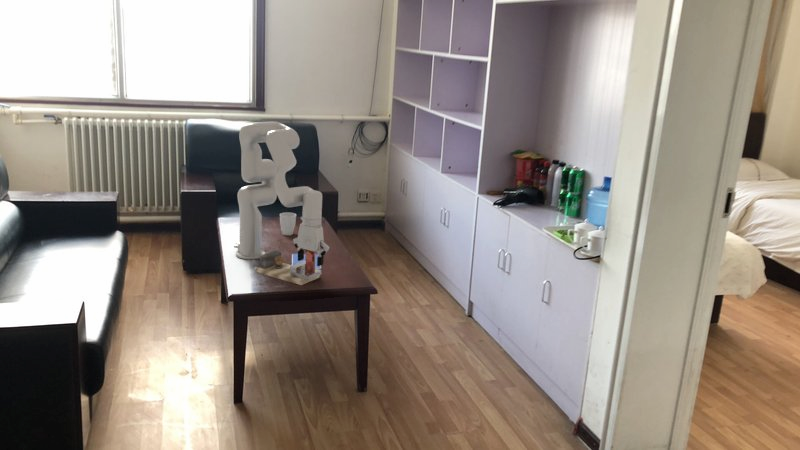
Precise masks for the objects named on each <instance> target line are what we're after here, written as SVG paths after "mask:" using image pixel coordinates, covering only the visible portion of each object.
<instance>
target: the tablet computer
mask: <svg viewBox="0 0 800 450" xmlns="http://www.w3.org/2000/svg"><path fill="white" fill-rule="evenodd" d="M305 256H306V253H304V259H303V260H301V261H298V253H292V254H291V265H295V264H297V263H300V262H302V261H305ZM317 257H318V254H317V253H316V258H315V269H318V270H322V265H321V266H317Z"/></svg>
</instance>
